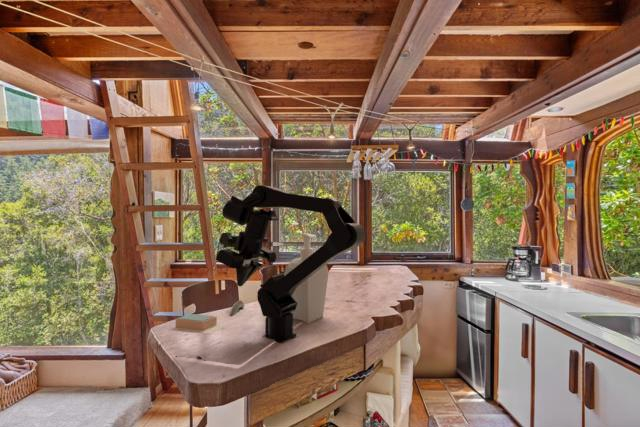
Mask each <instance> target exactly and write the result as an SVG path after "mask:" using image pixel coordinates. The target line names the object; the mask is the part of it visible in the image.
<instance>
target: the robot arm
mask: <svg viewBox="0 0 640 427" xmlns="http://www.w3.org/2000/svg"><path fill="white" fill-rule="evenodd" d="M255 208H258V209H257V210H256V209H255ZM264 208H266V209H267V208H268V209H278V208H279V209H282V208H288V209H289V208H290V209H295V210H302V211H308V212H314V213H320V214H322V215H323V216H324V219H325V221H326V224H327V227H328V228H329V230H330V232H331V233H330V234H329V235H328V236H327V239H326V240H325V242H324V243H323V244H322V246H320V247H319V248H318V249H316V251H315V250H314V253H313V254H312V255H310V256H309V257H308V258H307V259H305V260H304V261H303V262H302V263H300V264H299V265H298V266H297V267H295V268H294V269H293V270H291V271H290V272H289V273H288V274H286V275H285V276H284V273H281V274H280V273H279V274H277V275H272V276H270V277H269V278H268V279H267V280H266V282H264V283H262V284H259V287H260V288H259V289H258V290H257V296H256V297H257V302H258V304H259V306H260V310H261V313H262V316H263V317H265V320H264V322H265V325H264V326H265V334H264V335H262V338H265V339H270V340H273V341H274V342H277V343H284V342H286V341H288V340H291V339H294V338H296V337H297V333H294V319H293V313H291V312H292V311H295V310H296V307H297V302H296V301H295V300H294V298H293V297H292V294H293V293H294V291H295V289H296V288H297V287H298V286H299V285H300V284H301V283H303V282H304V281H305V280H307V279H308V278H309V277H311V276H312V275H313V274H314V273H316V272H317V271H318V270H320V269H321V268H322V267H324V266H325V265H327V264H329V263H331V261H333V260H334V259H336V257H338V256H341V255H344V253H347V252H350V251H352V250H353V249H356V248H358V247H360V246H361V245H362V244H363V243H364V242H365V240H366V231H365V229H364V227H363V226H362V225H361V224H359V223H357V222H356V221H355V220H354V218H353V217H352V216H351V215H350V213H348V212H347V210H346V208H344V207H343V205H342V204H341V202H340V201H339V200H338V199H336V198H333V197H332V198H331V197H326V198H325V197H324V198H323V197H318V196H309V195H303V194H296V193H291V192H288V191H286V190H284V189H281V188H278V187H275V186H269V185H263V184H258V185H256V186H255V187H254V188H253V189H252V191H251V193H250V194H249V195H248V196H246V197H245V198H241V197H240V196H238V195H231V198H230V199H229V200H228V201H227V202H226V203H225V204H224V206H223V207H222V210H221V211H222V214H221V215H222V217H223V218H224V219H227V220H228V221H230V222H232V223H235V224H238V226H245V227H244V230H243V231H240V232H239V233H238V235H232V232H221V234H220V238H219V243H220V245H222V247H223V248H224V249H221V250H219V251H217V253H216V254H215V261H217V262H219V263H221V264H223V265H225V266H227V267H228V268H232V269H235V270H236V271H235V272H236V286H238V287H242V286H244V285H245V283H246V282H247V281H249V279H251V277H252V275H254V274H255V273H256V272H257V271H258V270H259V269H260V268H262V267H263V264H262V263H260V260H259V259H264V258H265V259H266V260H267V263H269V264H272V263H275V262H276V259H277V254H276V252H275V251H274V250H272V249H269V248H267V247H266V246H264V243H268V241H269V238H268V237H266V236H267V233H268V229H269V227H270V223H271V222H273V221H274V222H276V221H279V217H278V215H277V214H276V211H275V210H265V209H264ZM225 248H227V249H225ZM230 248H233V249H230Z"/></svg>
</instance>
